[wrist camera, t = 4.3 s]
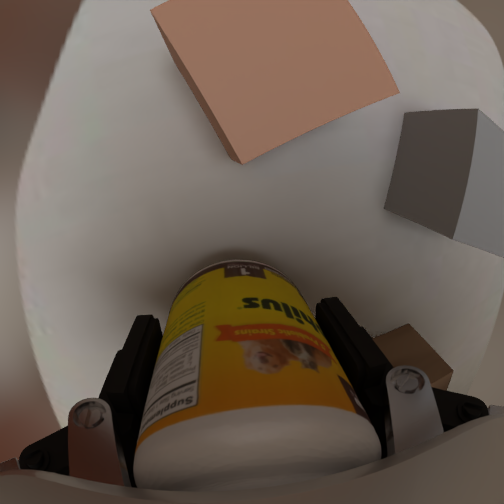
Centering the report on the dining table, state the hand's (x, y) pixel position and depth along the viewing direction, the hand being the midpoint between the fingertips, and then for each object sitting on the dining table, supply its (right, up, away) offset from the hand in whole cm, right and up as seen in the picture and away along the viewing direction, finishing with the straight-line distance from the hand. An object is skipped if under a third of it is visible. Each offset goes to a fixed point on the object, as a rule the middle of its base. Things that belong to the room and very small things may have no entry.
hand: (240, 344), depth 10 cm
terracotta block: (+1, +10, 0) cm, 10 cm away
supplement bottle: (0, +1, +2) cm, 2 cm away
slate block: (+10, +7, +3) cm, 12 cm away
